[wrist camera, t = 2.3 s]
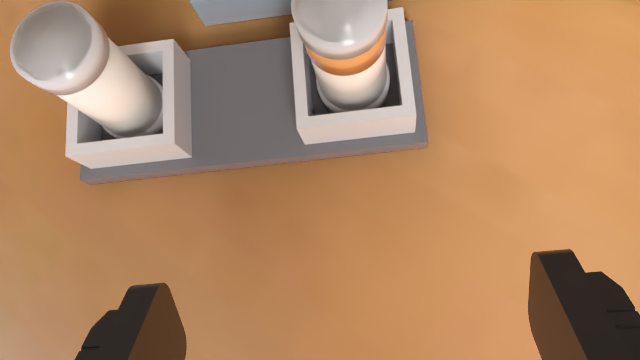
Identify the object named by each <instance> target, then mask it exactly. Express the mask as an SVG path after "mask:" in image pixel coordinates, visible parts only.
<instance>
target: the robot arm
mask: <svg viewBox="0 0 640 360" xmlns="http://www.w3.org/2000/svg"><path fill="white" fill-rule="evenodd" d="M528 314H529V322H530V327H531V331H532V334H533V337H534V340H535V342H536V345H537V348H538V350H539V353H540V355H541V358H542V360H640V315H639V313H638V312H637V311H635V307H634V305H633V304H632V302H631V300H630V299H629V297H628V296H627V294H626V293H625V291H624V289H623V288H622V287H621V286H620V285H618V284H617V283H616V282H614V281H613V280H612V279H610V278H609V277H608V276H606V275H605V274H604V273H602V272H589V273H585V272H584V270H583V268H582V266H581V265H580V263H579V261H578V259H577V258H576V256H575V254H574V253H573V251H572V250H570V249H566V250H554V251H542V252H534V253H533V254H532V256H531V266H530V282H529V299H528ZM185 356H186V335H185V331H184V328H183V325H182V322H181V320H180V317H179V314H178V311H177V308H176V306H175V303H174V300H173V297H172V294H171V292H170V289H169V287H168V286H167V284H165V283H157V284H145V285H134V286H131V287H130V288H129V289H128V290H127V292H126V294H125V296H124V298H123V301H122V303H121V305H120V307H119V309H118V310H109V311H108V312H107V313H106V314H105V315H104V316H103V317H102V318H101V319H100V320H99V321H98V322H97V323H96V324H95V325H94V326H93V327H92V328H91V330H90V332H89V334H88V335H87V337H86V339H85V341H84V343H83V345H82V347H81V351H79V353H78V355H77V356H76V358H75V360H185Z"/></svg>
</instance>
